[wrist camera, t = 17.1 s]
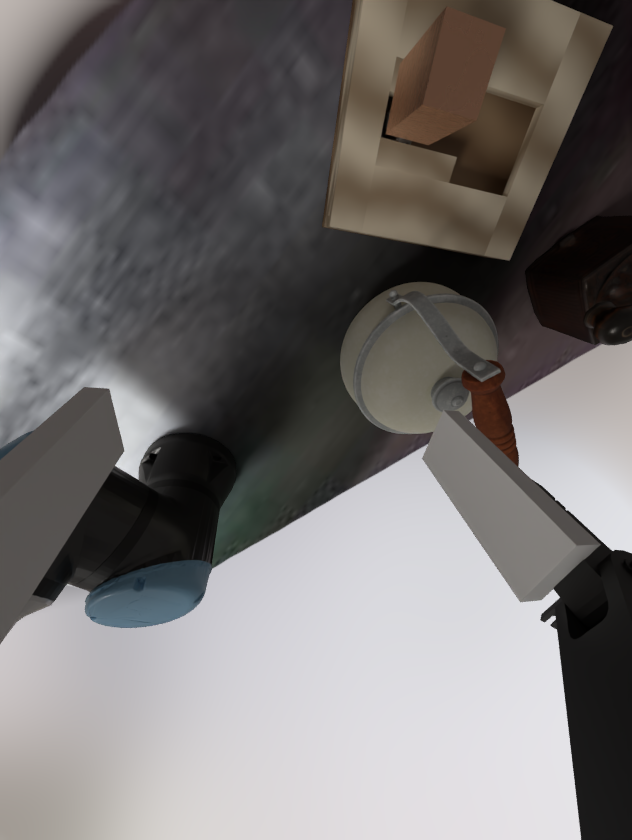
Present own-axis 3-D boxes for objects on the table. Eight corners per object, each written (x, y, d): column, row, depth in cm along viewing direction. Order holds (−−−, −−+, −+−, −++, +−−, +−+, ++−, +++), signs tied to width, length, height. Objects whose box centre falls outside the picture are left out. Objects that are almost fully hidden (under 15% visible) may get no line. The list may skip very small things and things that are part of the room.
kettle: (303, 312, 39) (345, 403, 19) (429, 232, 36) (646, 236, 16) (374, 435, 53) (443, 568, 32) (470, 384, 50) (616, 494, 29)
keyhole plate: (483, 257, 39) (509, 260, 35) (322, 226, 34) (329, 226, 30) (563, 54, 29) (613, 26, 25) (355, -24, 25) (374, -74, 21)
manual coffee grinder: (597, 208, 38) (817, 194, 23) (607, 281, 43) (788, 308, 28) (487, 291, 41) (611, 326, 26) (509, 348, 47) (622, 404, 32)
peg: (402, 167, 31) (479, 132, 20) (358, 156, 30) (413, 113, 19) (418, 101, 29) (517, 18, 17) (370, 87, 28) (442, -12, 16)
